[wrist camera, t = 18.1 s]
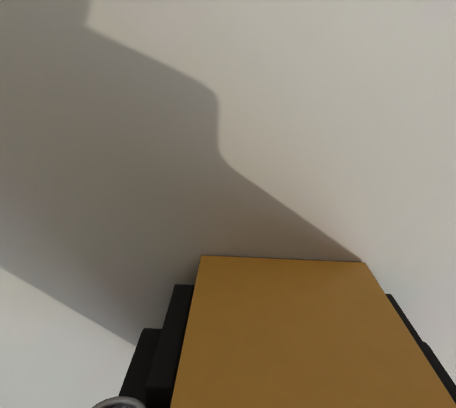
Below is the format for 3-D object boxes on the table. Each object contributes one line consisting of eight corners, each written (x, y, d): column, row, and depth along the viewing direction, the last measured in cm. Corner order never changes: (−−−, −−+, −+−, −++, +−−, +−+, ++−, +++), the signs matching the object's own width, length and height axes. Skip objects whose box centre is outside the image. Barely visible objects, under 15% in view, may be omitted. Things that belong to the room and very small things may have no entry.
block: (200, 254, 11) (166, 424, 6) (365, 261, 11) (481, 440, 6) (199, 385, 13) (169, 613, 7) (343, 392, 13) (419, 628, 7)
